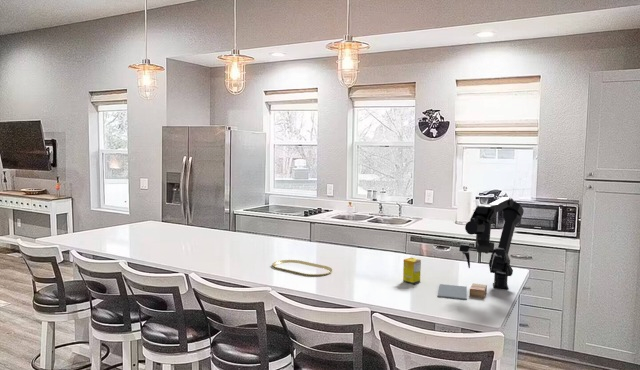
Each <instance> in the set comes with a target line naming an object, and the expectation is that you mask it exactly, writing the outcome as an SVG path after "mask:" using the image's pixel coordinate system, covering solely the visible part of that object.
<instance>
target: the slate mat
mask: <svg viewBox="0 0 640 370" xmlns="http://www.w3.org/2000/svg"><path fill="white" fill-rule="evenodd" d="M467 295H468V292H467V285H466V286H465V285H464V286H463V285H455V284H444V283H439V285H438V292H437V298H445V299H453V300H454V299H455V300H463V301H464V300H466V301H467V299H468V296H467Z"/></svg>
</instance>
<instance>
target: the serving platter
mask: <svg viewBox="0 0 640 370" xmlns="http://www.w3.org/2000/svg"><path fill="white" fill-rule="evenodd" d="M286 263H288V264H289V263H293V264H301V265H305V266H310V267H314V268H320V269H323V268H324V270H327V271H328V270H329V271H330V272H329V271H328V272H325V273H314V274H313V273H305V272H300V271H295V270H292V269H287V268H282V267H278V266H277V265H281V264H286ZM272 267H273V268H275V269H276V270H279V271H284V272H289V273H292V272H293V274H298V275H301V276H306V275H307V276H306V277H323V275H324V276H326V275H327V274H328V275H330V274H331V273H332V272H333V269H332V267H330V266H328V265H321V264H318V263H314V262H309V261H303V260H298V259H282V260H277V261H274V262H273V263H272Z"/></svg>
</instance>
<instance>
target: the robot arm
mask: <svg viewBox="0 0 640 370" xmlns="http://www.w3.org/2000/svg"><path fill="white" fill-rule="evenodd" d="M474 209H475V210H473V213H472V215H471V217H470V219H469V221H467V222H466V224H465V227H464V229H465V232H466V233H467V234H468V235H475V244H474V245H475V246H470V244H469V243H460V244H459V252H461V253H462V254H463V255H464V256H465V258H466V262H467V268H468V269H470V268H471V258H470V252H471V251H473V252H476V253H480V254H481V253H482V254H491V255H490V259H489V261H488V262H489V263H488V268H489V271H490V273H491V274H494V278H493V282H492V287H493V288H494V289H503V290H509V285H508V277H512V276H513V272H514V269H513V267H512V266H511V259H510V256H509V252H510V248H511V244H512V240H513V236H514V232H515V228H516V225H517V224H519V222H520V221H521V220H522V217H523V215H524V208H523V206H522V205H521V204H520V203H518V202H516V200H515V199H513V198H512V197H506V196H502V197H500V198H499V199H496V200H495V201H492V202H490V203H482V204H480V203H479V204H478V205H477V206H476V208H474ZM500 211H501V212H502V217H503V220H504V223H503V228H502V231H501V234H500V238H499V243H498V247H495V242H493V241H491V229H492V225H493V224H494V221H493V218H494V217H495V218H496V215H497V213H499V212H500Z"/></svg>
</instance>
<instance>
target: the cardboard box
mask: <svg viewBox="0 0 640 370" xmlns="http://www.w3.org/2000/svg"><path fill="white" fill-rule="evenodd" d="M487 289H488V285H487V284H481V283H472V284H471V286H470V288H469V295H468V296H469V297H470V298H479V299H485V298H486V297H485V296H486V295H487V292H488V291H487Z"/></svg>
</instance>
